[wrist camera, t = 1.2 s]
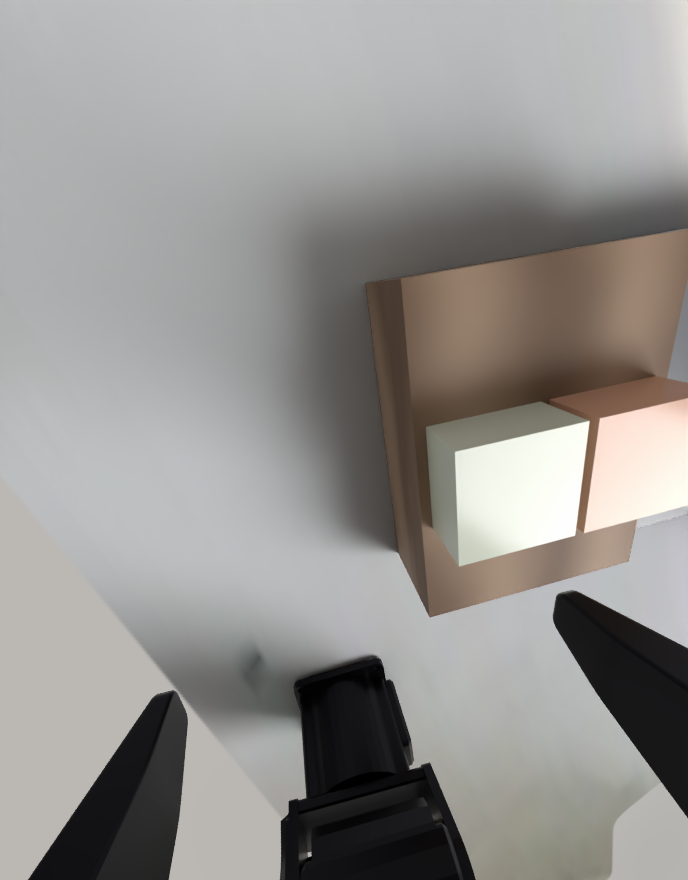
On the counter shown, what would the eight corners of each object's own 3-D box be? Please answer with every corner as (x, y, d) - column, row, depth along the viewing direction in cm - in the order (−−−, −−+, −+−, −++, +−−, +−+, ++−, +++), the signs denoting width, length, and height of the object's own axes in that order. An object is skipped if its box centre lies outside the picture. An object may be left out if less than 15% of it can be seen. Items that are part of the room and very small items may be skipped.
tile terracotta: (541, 500, 17) (584, 533, 14) (549, 399, 15) (600, 418, 12) (635, 476, 17) (691, 504, 15) (655, 375, 15) (722, 390, 13)
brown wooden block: (398, 553, 23) (429, 617, 18) (365, 283, 17) (401, 278, 12) (561, 511, 24) (628, 561, 20) (589, 244, 18) (698, 227, 13)
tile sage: (432, 528, 16) (459, 566, 14) (425, 426, 14) (455, 452, 12) (533, 502, 17) (575, 535, 14) (540, 401, 15) (589, 421, 12)
